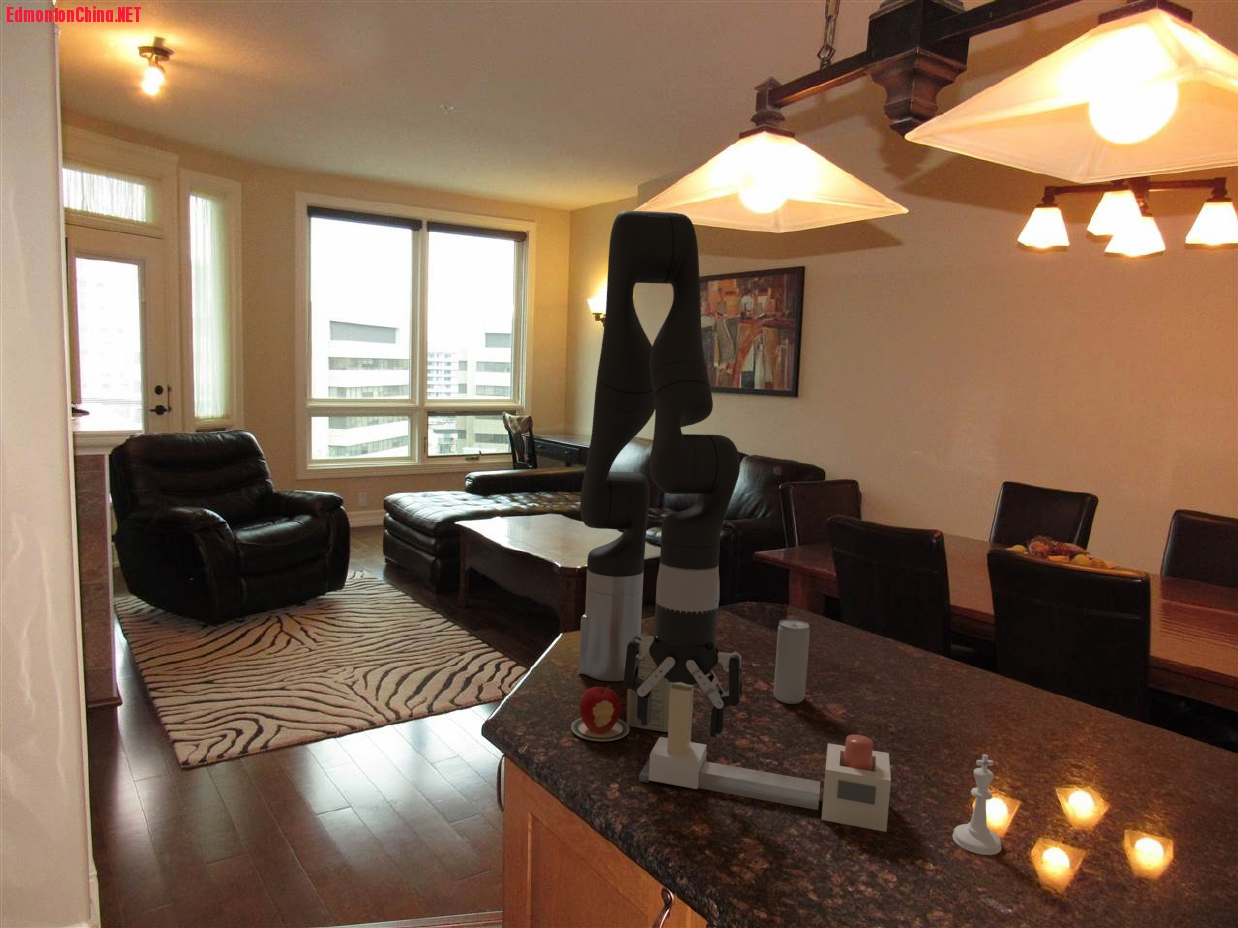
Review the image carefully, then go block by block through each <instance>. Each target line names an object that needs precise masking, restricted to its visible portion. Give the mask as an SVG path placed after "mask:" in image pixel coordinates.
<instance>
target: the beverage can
mask: <svg viewBox="0 0 1238 928" xmlns="http://www.w3.org/2000/svg"><path fill="white" fill-rule="evenodd" d="M778 624H779V625H778V627H777V638H776V655H775V670H774V680H773V682H774V683H773V684H774V685H773V686H774V687H773V695H774V698H775V699H776V700H777V701H779V702H780V703H783V704H789V705H796V704H800V703H802V702H803V700H804V699H805V698H806V688H807V687H806V684H807V672H808V663H809V662H808V661H809V660H808V658H809V648H810V647H809V645H810V633H811V631H810V625H809V624H808V622H805V621H802V620H798V619H783V620H779V623H778Z"/></svg>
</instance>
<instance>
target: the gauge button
mask: <svg viewBox="0 0 1238 928" xmlns="http://www.w3.org/2000/svg"><path fill="white" fill-rule="evenodd" d="M844 746H845V758H844V767H850V768H856V769H861V770H867V771H871V763H872V751H874V749H873V748H874V741H873V739H871V738H870V737H868V736H865V735H861V734H850V735H847V736H846V737H845V745H844Z"/></svg>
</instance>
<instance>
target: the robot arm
mask: <svg viewBox="0 0 1238 928" xmlns="http://www.w3.org/2000/svg"><path fill="white" fill-rule="evenodd" d="M699 260H700V259H699V246H698V239H697V234H696V230H695V227H694V223H693V222H692V220H691V218H690V217H689V216H687V215H686V214H683V213H678V212H670V211H669V212H668V211H651V210H650V211H648V210H647V211H646V210H623V211H620V212H619V213H618V214H617V215H616V217H615V219H614V221H613V223H612V227H611V231H610V236H609V247H608V263H607V281H606V285H607V286H606V302H605V314H604V315H605V318H604V325H603V334H602V341H601V349H600V357H599V362H598V368H597V374H596V383H595V393H594V404H593V417H592V426H591V427H592V428H591V436H590V437H591V438H590V443H589V450H588V455H587V460H586V465H585V470H584V474H583V480H582V487H581V491H580V502H579V503H580V504H579V505H580V506H579V509H580V512H579V513H580V517H581V520H582V522H583V524H584V525H585V526H587V528H591V529H598V530H599V529H601V530H602V529H603V530H604V529H606V530H623V532H622V534H621V535H619V537H617V538H616V539H613V541H611V542H608V543H606V544H604V545H600V546H596V547H595V548H593V549H591V550H590V551H589V552H588V554H587V561H586V562H587V563H586V585H585V586H586V591H585V612H584V614H583V615H581V617H580V635H579V655H578V656H579V659H578V674H583V675H585V676H588V677H589V678H592V679H595V680H598V681H604V682H623V683H622V684H623V685H622V686H623V687H624V689H625V690H627V689H632V690H633V691H635V692H636V693H637V695H638V703H637V717H638V720H641V725H646V726H647V725H648V724H649V722H650V720H651V707H652V691H650V690H651V689H652V688H653V687H654V686H655V685H656V684H657V683H658V682H659V681H660V679H661V678H662V677H663V676H664V677H665V678H666V679H667V680H668V682H673V683H676V682H681V683H685V684H687V685H693V686H694V687H695V685H696V684H698V685H699V687H700V689H701V691H703V693H704V694H705V695H707V697H708V699H709V700H710V701H711V703H712V704H713V705H712V706H711V710H710V711H711V713H710V729H709V730H710V731H709V738H710V737H711V738H717V736H718V734H721V733H722V731H723V729H724V727H725V721H726V720H725V718H726V707H729V706H732V707H737V706H738V705H739V704H740V700H741V698H742V695H743V653H742V652H740V651H739V650H734V651H732V652H730V653H729V652H720V651H719V650H718V646H717V633H718V631H717V630H718V617H719V616H718V615H719V602H720V598H721V596H720V595H721V593H720V573H719V569H720V568H719V565H720V550H721V548H720V547H721V543H720V542H721V533H722V529H723V525H724V521H726V520H725V519H726V517H727V513H728V509H729V506H730V504H731V500H732V498H733V495H734V493H735V489H736V487H737V483H738V480H739V476H740V472H741V459H740V458H741V457H740V455H739V450H738V448H737V446H736V443H734V441H733V440H731V438H729V437H727V436H725V435H722V434H695V433H693V434H692V433H691V434H690V433H689V434H688V433H687V434H685V433H683V432H682V428H684V427H688V426H693V425H695V424H699V423H701V422H703V421H704V420H707V418H709V417H710V415H711V414H712V411H713V409H714V408H713V407H714V403H713V394H712V389H711V384H710V379H709V375H708V368H707V363H706V359H705V351H704V345H703V343H704V342H703V334H702V333H703V331H702V309H701V308H702V306H701V303H702V302H701V283H700V281H701V279H700V262H699ZM636 284H664V285H665V284H666V285H667V284H670V285H671V287H672V291H673V297H672V298H673V299H672V304H671V306H670V309H669V312H668V314H667V315H666V318H665V320H664V322H663V324H662V325H661V327H660V329H659V331H658V332H657V334H656V337H655V339H654V341H653V343H651V341H650V340H649V337H648V335H647V333H645V330H644V328H643V326H642V324H641V322H640V319H639V317H638V314H637V312H636V311H637V310H636V308H635V304H634V302H635V301H634V290H635V286H636ZM654 413H655V414H654ZM654 415H655V416H654ZM653 416H654V430H653V439H652V444H651V450H650V456H649V473H650V477H651V479H652V481H653V484H655V486H656V487H657V488H658V489H659V491H661V492H663V493H665V494H669V495H693V494H697V495H698V497H697V499H696V501H695V502H694V504H693V505H692V506H691V507H688V508H687V509H685V510H680V511H676V512H673V513H670V514H668V515H666V516H665V517H664V519H663V521H662V525H661V533H660V534H661V535H660V552H659V553H660V554H659V567H658V572H657V577H656V590H655V593H656V594H655V607H654V609H655V610H654V611H655V612H654V627H653V629H654V631H653V636H654V640H653V642H652V643H650V642H645V641H642V640H641V638H639V637H635V636H636V635H637V634H639V635H642V634H641V633H642V631H641V630H642V612H643V611H642V608H643V607H642V606H643V590H644V588H643V587H644V570H645V569H644V568H645V554H646V542H647V541H646V539H647V529H648V518H649V511H650V500H651V499H650V498H651V497H650V496H651V495H650V484H649V481H648V478H647V477H646V475H645V474H643V473H641V472H636V471H635V472H634V471H633V472H632V471H611V468H612V466H613V464H614V462H615V460H616V459H617V457H618V456H619V455H620V453H621V451H622V450H623V449H625V447H626V446H627V445H628V444H629V443H630V442H631V441H632V440H633V439H634V438H635V437H636V436H637V435H638V434H639V433H640V432H641V430H643V428H644V427H645V426H646V425H647V424H648V422H649V421H650V420H651V418H652V417H653ZM630 640H631V642H630V643H629V644H628V642H629V641H630ZM646 652H649V653H650V656H651V657H652V659H653V660H654V662H655V664H656V665H657V667H656V668H655V669H654V670H653V671H652V672H651V674H650V675H649V676H648V677H647V678H646V679H645V680H643V679H641V678H639V677H638V672H639V663H640V659H642V658H643V657H644V656H645V654H646ZM718 663H720V664H721V665H722V666H723V667H722V668H723V671H725V672H726V673H728V691H726V692H725V690H724V689H723V687H722V686H721V684H720V682H719V679H718V676H717V675H716V674H715V672H714V671H713V669H714V667H716V665H717V664H718Z"/></svg>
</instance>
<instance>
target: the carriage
mask: <svg viewBox="0 0 1238 928" xmlns="http://www.w3.org/2000/svg"><path fill="white" fill-rule="evenodd" d="M694 688H695V685H694V686H693V685H687V684H685V683H682V682H676V683H674V684H673V685H672V687H671V689H670V707H669V726H668V732H667V737H663V736H659V737H658V739H657V741H656V742H655V745H653V748H652V750H651V751H650V754H649V757H650V763H649V780H650V781H652V782H655V783H656V782H657V783H660V784H661V783H662V784H666V785H673V786H679V787H684V788H689V789H694V790H698V789H699V788H698V786H699V772H700V769H701V767H702V765H703V762H704V761H706V762H707V744H703V743H698V742H694V741H692V725H693V705H694V690H695V689H694Z"/></svg>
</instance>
